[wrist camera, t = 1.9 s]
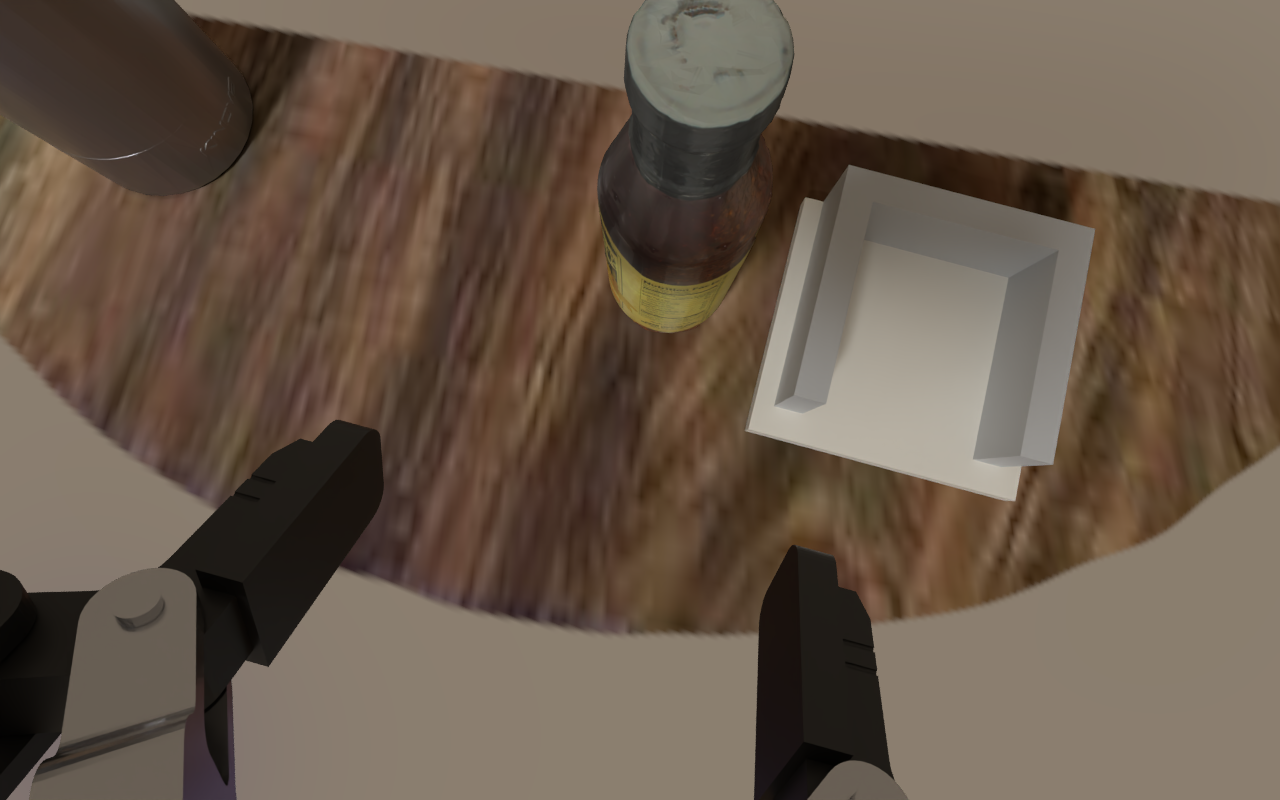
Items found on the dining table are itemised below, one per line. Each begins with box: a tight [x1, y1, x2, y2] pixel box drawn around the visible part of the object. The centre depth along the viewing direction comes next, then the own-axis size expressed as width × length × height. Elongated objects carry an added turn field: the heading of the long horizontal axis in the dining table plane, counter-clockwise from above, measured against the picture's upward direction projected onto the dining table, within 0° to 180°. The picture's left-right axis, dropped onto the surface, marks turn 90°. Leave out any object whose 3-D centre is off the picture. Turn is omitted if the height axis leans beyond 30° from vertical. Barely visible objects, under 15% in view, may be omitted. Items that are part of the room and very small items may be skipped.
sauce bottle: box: [597, 0, 794, 333], centre depth 25 cm, size 6×6×20 cm
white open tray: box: [745, 165, 1095, 501], centre depth 32 cm, size 14×13×5 cm
